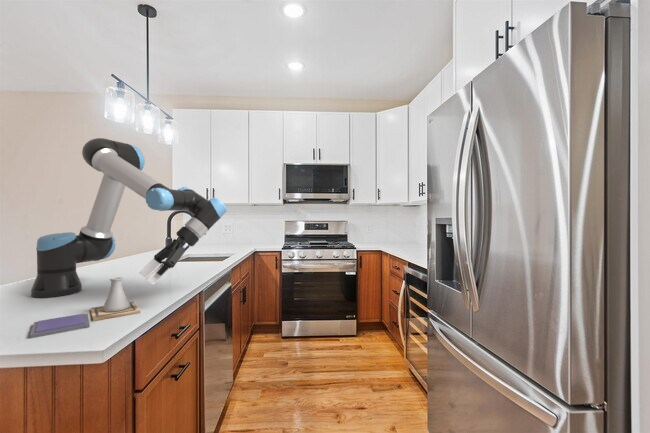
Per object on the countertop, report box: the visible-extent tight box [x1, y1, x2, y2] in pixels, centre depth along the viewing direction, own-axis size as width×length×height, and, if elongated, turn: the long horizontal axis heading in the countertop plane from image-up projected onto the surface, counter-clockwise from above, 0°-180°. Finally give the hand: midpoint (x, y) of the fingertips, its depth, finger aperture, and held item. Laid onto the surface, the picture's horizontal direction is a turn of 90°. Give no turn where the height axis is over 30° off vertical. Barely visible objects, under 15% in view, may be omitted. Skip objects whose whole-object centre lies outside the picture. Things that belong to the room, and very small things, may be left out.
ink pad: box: [29, 313, 91, 339], centre depth 86 cm, size 12×12×1 cm
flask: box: [102, 276, 130, 312], centre depth 100 cm, size 7×7×10 cm
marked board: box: [90, 300, 141, 322], centre depth 99 cm, size 14×12×1 cm
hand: (145, 278), depth 104 cm, fingers open, 13 cm apart
